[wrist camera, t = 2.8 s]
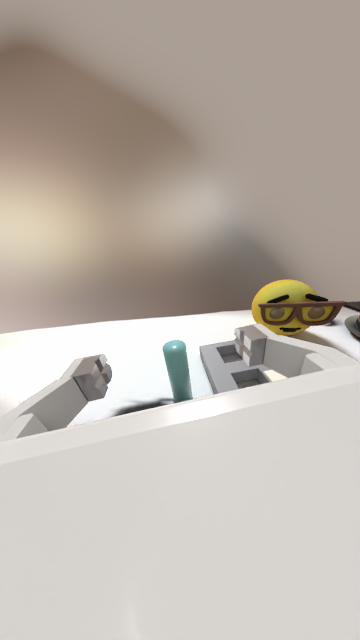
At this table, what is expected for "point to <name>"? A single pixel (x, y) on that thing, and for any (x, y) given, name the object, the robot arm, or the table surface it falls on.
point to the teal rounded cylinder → (178, 370)
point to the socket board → (232, 368)
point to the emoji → (292, 307)
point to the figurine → (353, 324)
